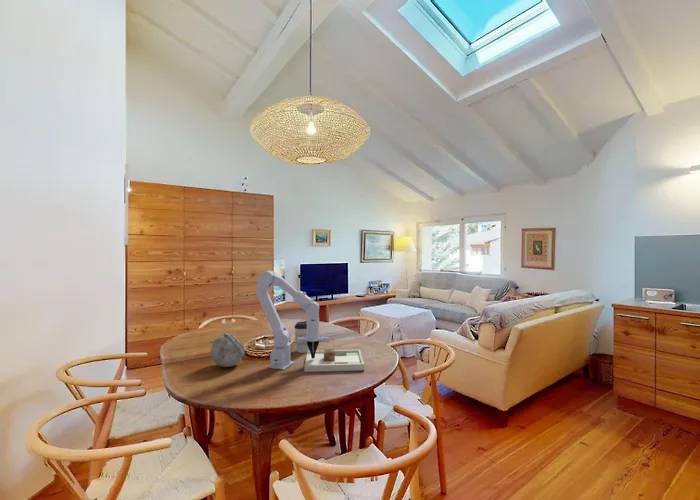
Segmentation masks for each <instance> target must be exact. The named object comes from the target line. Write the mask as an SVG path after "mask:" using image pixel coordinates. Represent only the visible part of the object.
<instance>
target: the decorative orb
mask: <svg viewBox="0 0 700 500" xmlns="http://www.w3.org/2000/svg"><path fill="white" fill-rule="evenodd" d="M245 351H246V349H245V347H244V345H243V343H242V342H241V341H240V340H239V338H238V337H237V336H236V335H234V333H228V332H225V333H224V334H223V335H222V334H221V335H218V337H216V338H215V340H214V341H213V343H212V344H211V347H210V357H211V360H212V361H213V363H215V364H216V365H217V366H219V367H223V368H231V367H233V366H236V365H237V364H238V363H240V362H241V361H242V358H244V356H245Z"/></svg>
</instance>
